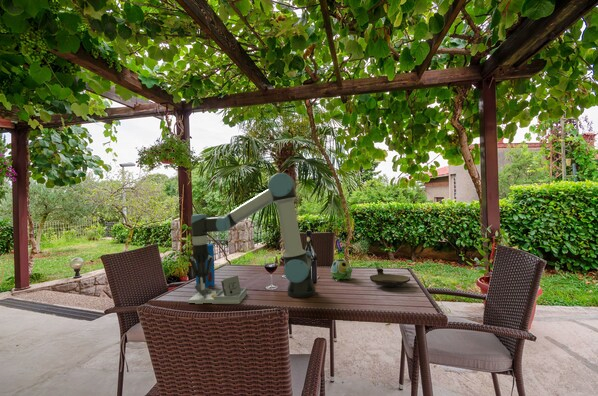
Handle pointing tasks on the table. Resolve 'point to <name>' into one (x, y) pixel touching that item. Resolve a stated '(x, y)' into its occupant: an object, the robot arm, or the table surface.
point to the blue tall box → (211, 277)
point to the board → (218, 297)
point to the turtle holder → (341, 269)
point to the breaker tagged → (201, 290)
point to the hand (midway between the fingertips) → (203, 289)
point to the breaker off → (208, 290)
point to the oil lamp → (388, 279)
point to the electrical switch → (231, 286)
